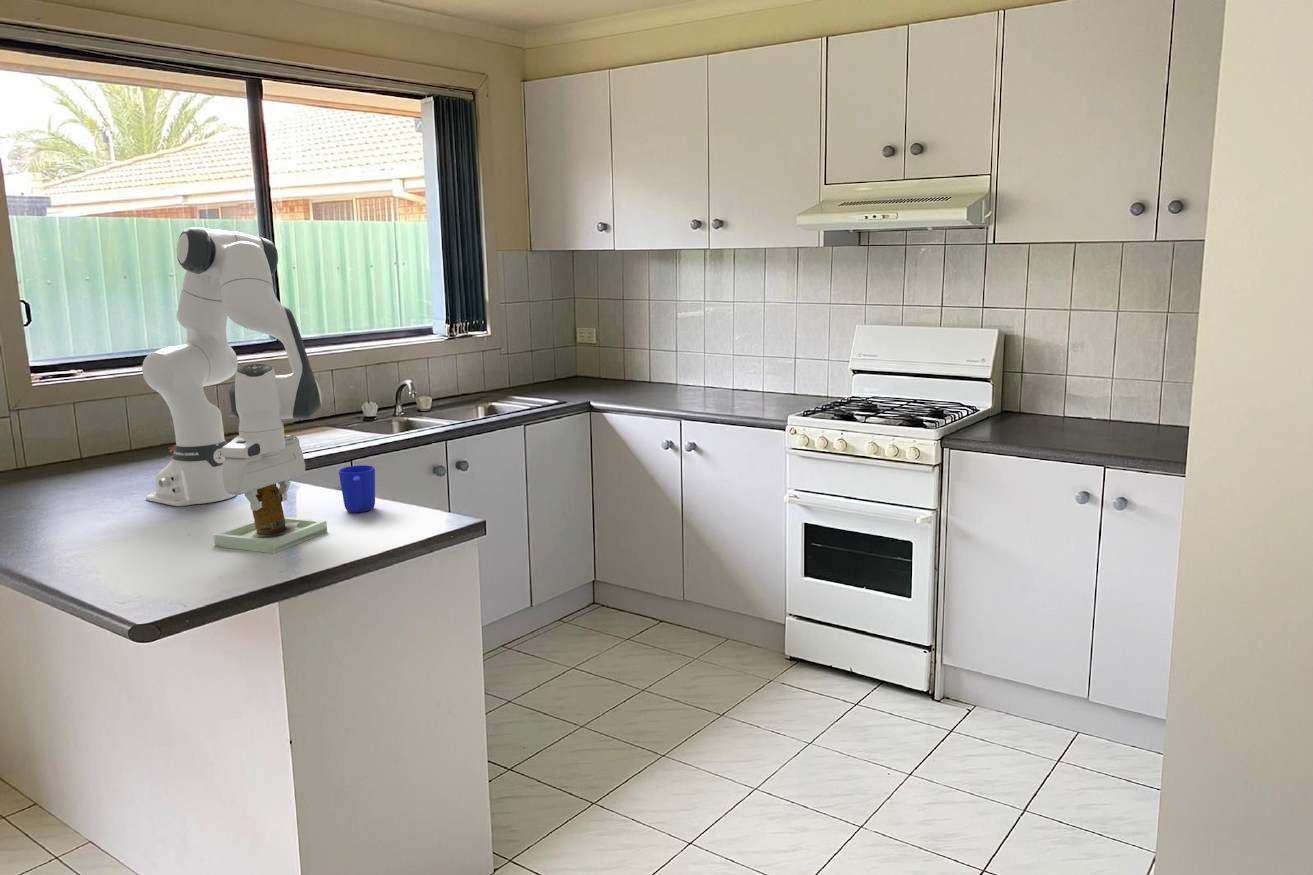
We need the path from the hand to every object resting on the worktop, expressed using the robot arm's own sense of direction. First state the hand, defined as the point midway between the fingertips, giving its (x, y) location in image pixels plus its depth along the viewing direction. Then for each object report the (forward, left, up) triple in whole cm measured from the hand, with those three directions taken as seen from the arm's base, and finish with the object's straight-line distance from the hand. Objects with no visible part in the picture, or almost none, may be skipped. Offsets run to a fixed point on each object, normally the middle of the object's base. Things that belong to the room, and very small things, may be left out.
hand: (269, 505), depth 213 cm
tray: (0, 0, -7) cm, 7 cm away
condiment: (0, +1, -6) cm, 6 cm away
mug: (+4, +24, -8) cm, 25 cm away
